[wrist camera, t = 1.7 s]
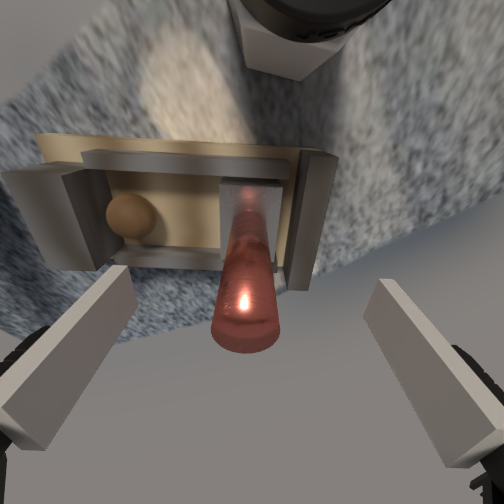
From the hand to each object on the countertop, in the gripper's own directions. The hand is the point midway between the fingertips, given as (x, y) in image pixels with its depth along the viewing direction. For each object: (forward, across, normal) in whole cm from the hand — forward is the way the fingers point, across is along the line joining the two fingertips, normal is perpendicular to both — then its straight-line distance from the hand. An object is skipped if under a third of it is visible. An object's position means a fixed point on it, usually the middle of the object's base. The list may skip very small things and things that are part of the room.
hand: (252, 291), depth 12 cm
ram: (+11, 0, 0) cm, 11 cm away
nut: (+11, -11, 0) cm, 16 cm away
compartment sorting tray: (+13, -6, 0) cm, 15 cm away
